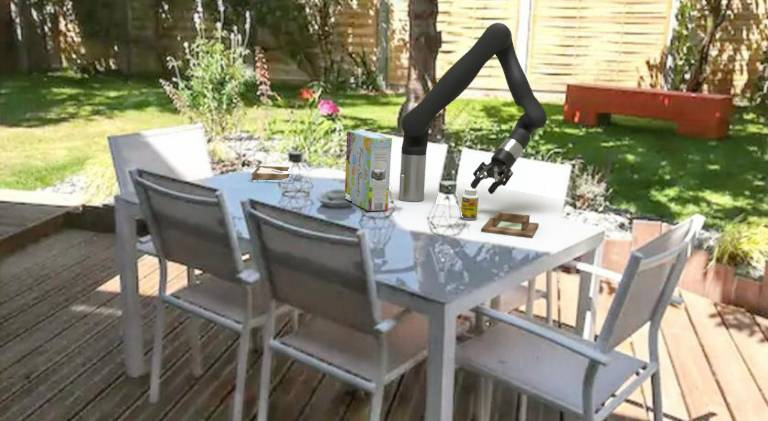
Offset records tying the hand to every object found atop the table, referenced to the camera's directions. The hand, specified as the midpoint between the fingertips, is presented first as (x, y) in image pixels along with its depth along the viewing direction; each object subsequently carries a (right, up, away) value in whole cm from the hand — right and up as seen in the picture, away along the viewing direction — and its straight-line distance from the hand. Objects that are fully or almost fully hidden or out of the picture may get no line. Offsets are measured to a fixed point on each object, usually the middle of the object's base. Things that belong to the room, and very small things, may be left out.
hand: (480, 189), depth 243 cm
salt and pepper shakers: (-80, +5, +52) cm, 96 cm away
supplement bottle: (-4, -10, -1) cm, 11 cm away
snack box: (-39, -5, +13) cm, 42 cm away
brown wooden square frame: (+8, -13, -12) cm, 19 cm away
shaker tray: (-78, +6, +53) cm, 95 cm away
